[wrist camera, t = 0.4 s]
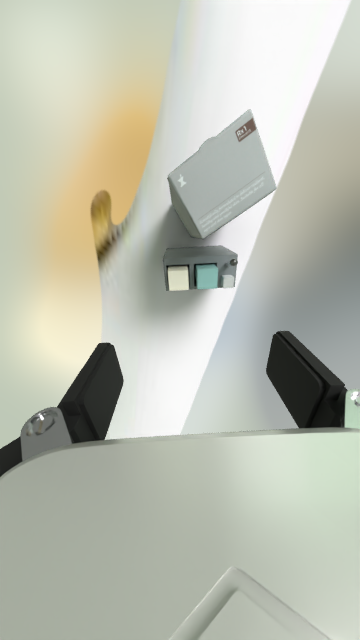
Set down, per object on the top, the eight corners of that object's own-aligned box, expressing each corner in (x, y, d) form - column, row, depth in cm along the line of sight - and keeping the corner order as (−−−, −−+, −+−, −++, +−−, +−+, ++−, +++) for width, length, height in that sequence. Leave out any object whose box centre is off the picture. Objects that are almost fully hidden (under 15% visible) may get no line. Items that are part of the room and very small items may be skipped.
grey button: (221, 275, 26) (223, 278, 25) (231, 274, 26) (234, 277, 25) (220, 284, 26) (223, 288, 25) (230, 284, 26) (233, 287, 25)
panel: (166, 248, 33) (163, 258, 25) (221, 245, 33) (237, 254, 25) (168, 273, 36) (166, 290, 27) (220, 270, 35) (234, 286, 27)
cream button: (168, 265, 26) (167, 271, 23) (186, 264, 26) (188, 270, 23) (170, 283, 27) (169, 290, 24) (187, 282, 27) (188, 289, 24)
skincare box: (191, 237, 33) (202, 250, 19) (168, 197, 30) (160, 176, 16) (234, 207, 31) (282, 196, 17) (214, 160, 28) (252, 99, 14)
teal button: (195, 264, 26) (197, 269, 23) (213, 263, 26) (218, 268, 23) (195, 282, 27) (197, 289, 24) (213, 281, 27) (217, 288, 24)
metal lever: (223, 261, 25) (231, 258, 22) (230, 261, 25) (238, 257, 22) (223, 268, 25) (231, 266, 22) (230, 268, 25) (238, 265, 22)
